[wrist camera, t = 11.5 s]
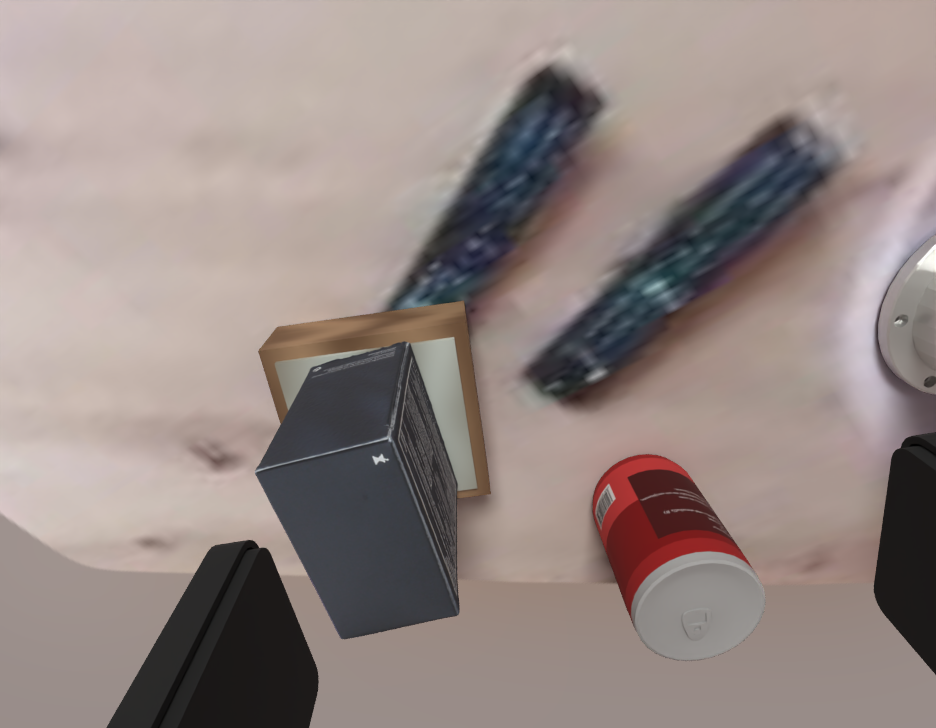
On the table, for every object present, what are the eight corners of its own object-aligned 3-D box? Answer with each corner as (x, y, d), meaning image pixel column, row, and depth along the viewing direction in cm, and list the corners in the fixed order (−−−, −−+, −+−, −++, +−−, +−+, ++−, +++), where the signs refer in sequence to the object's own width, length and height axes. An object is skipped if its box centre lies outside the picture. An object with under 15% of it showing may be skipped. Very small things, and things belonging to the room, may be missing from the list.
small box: (301, 366, 33) (242, 470, 23) (410, 336, 32) (395, 430, 23) (363, 509, 37) (335, 648, 27) (460, 485, 36) (466, 617, 27)
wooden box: (463, 300, 36) (466, 323, 32) (486, 460, 41) (491, 496, 37) (277, 327, 36) (256, 353, 32) (321, 482, 41) (308, 521, 37)
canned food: (609, 551, 45) (657, 678, 35) (573, 475, 42) (614, 590, 32) (703, 515, 44) (781, 636, 34) (673, 434, 41) (748, 540, 31)
